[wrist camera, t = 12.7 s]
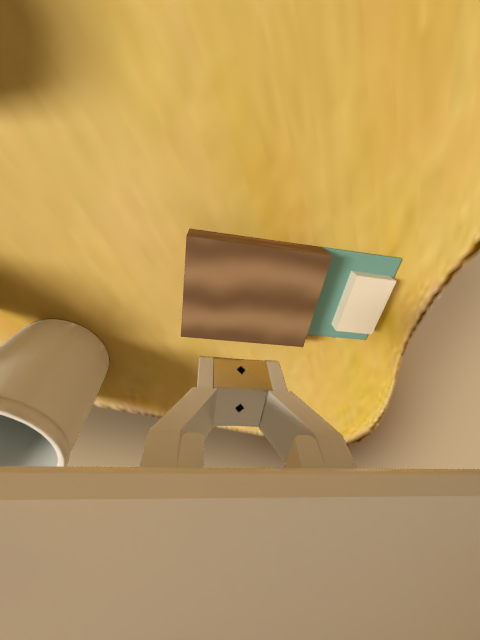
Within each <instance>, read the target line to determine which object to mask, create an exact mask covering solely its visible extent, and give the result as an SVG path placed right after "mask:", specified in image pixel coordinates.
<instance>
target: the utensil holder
mask: <svg viewBox="0 0 480 640" xmlns="http://www.w3.org/2000/svg"><path fill="white" fill-rule="evenodd" d="M108 367H109V356H108V352H107V350H106V348H105V346H104V345H103V343H102V342H101V341H100V339H99V338H98V337H97V336H96V335H94V334H93V333H92V332H91V331H89V330H88V329H86V328H84V327H82V326H80V325H78V324H75V323H72V322H69V321H65V320H59V319H45V320H40V321H37V322H34V323H31V324H29V325H27V326H26V327H24V328H23V329H22V330H20V331H19V332H18V333H16V334H15V335H14V336H12V337H11V338H10V339H9V340H7V341H6V342H5V343H4V344H2V345H1V346H0V466H45V467H66V466H67V464H68V461H69V456H70V452H71V450H72V448H73V446H74V444H75V442H76V440H77V437H78V435H79V433H80V431H81V429H82V427H83V424H84V422H85V420H86V418H87V416H88V414H89V412H90V410H91V407H92V405H93V403H94V401H95V399H96V397H97V395H98V392H99V390H100V388H101V385H102V383H103V381H104V378H105V376H106V373H107V371H108Z"/></svg>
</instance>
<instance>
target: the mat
mask: <svg viewBox="0 0 480 640" xmlns="http://www.w3.org/2000/svg"><path fill="white" fill-rule="evenodd" d="M322 248H324V247H322ZM324 249H325V250H326V251H327V252H328V253H330V254H331V255H332V259H331V262H330V265H329V268H328V271H327V274H326V277H325V280H324V284H323V287H322V290H321V293H320V296H319V299H318V302H317V305H316V308H315V312H314V315H313V318H312V321H311V324H310V327H309V330H308V333H307V335H317V336H328V337H339V338H350V339H361V340H366V338H367V336H368V334H363V333H353V332H343V331H336V330H335V329H334V327H333V326H332V321H333V318H334V316H335V313H336V310H337V308H338V305H339V302H340V299H341V297H342V294H343V291H344V289H345V286H346V283H347V281H348V278H349V275H350V273H351V271H357V272H365V273H372V274H379V275H387V276H390V277H392V278H394V276H395V273H396V271H397V269H398V267H399V264H400V262H401V260H402V258H396V257H389V256H382V255H375V254H368V253H360V252H353V251H346V250H339V249H332V248H324Z"/></svg>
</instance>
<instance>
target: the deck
mask: <svg viewBox="0 0 480 640" xmlns="http://www.w3.org/2000/svg"><path fill="white" fill-rule="evenodd" d="M331 259H332V255H331V254H330V253H328V252H327V251H326V250H325V249H324V248H322V247H317V246H310V245H303V244H296V243H288V242H281V241H274V240H267V239H260V238H253V237H245V236H238V235H231V234H224V233H217V232H209V231H202V230H195V229H189V231H188V234H187V239H186V256H185V274H184V291H183V308H182V326H181V337H191V338H203V339H215V340H227V341H238V342H250V343H262V344H274V345H285V346H297V347H303V346H304V343H305V340H306V336H307V333H308V330H309V327H310V324H311V321H312V318H313V315H314V312H315V308H316V305H317V302H318V299H319V296H320V293H321V290H322V287H323V284H324V280H325V277H326V274H327V271H328V268H329V265H330V262H331Z"/></svg>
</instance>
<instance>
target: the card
mask: <svg viewBox="0 0 480 640" xmlns="http://www.w3.org/2000/svg"><path fill="white" fill-rule="evenodd" d="M396 282H397V281H396V280H395V279H393V278H392V277H390V276H387V275H379V274H372V273H365V272H357V271H351V273H350V275H349V278H348V281H347V283H346V286H345V289H344V291H343V294H342V297H341V299H340V302H339V305H338V308H337V310H336V313H335V316H334V318H333V321H332V326H333V327H334V329H335V330H336V331H343V332H353V333H363V334H372V333H373V331H374V329H375V327H376V325H377V322H378V320H379V318H380V316H381V314H382V312H383V309H384V307H385V305H386V303H387V301H388V299H389V297H390V294H391V292H392V290H393V288H394V286H395V284H396Z"/></svg>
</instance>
